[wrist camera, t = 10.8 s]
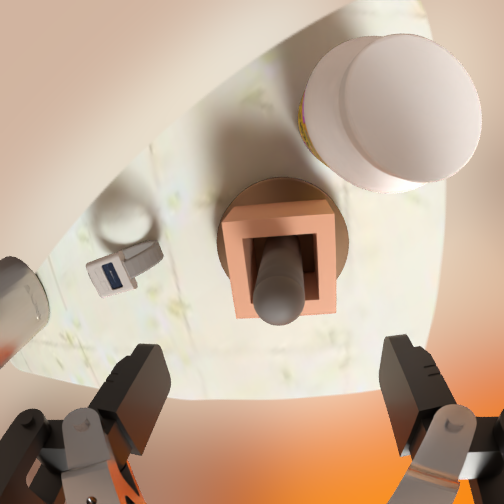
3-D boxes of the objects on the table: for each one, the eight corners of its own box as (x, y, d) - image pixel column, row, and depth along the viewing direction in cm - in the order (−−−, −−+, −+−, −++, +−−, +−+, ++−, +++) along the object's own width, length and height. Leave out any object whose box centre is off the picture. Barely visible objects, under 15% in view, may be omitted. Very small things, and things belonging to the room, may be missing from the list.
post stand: (230, 297, 25) (197, 386, 15) (213, 183, 22) (157, 218, 12) (345, 291, 23) (371, 381, 14) (342, 173, 20) (385, 201, 11)
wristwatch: (117, 275, 25) (87, 303, 21) (104, 247, 25) (70, 270, 20) (177, 257, 24) (152, 285, 19) (164, 224, 23) (135, 246, 19)
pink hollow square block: (245, 288, 23) (236, 318, 19) (233, 206, 21) (221, 222, 17) (329, 283, 22) (336, 313, 18) (325, 199, 20) (334, 213, 16)
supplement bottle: (291, 78, 19) (294, -1, 7) (385, 76, 18) (486, 21, 6) (302, 173, 21) (321, 221, 9) (394, 169, 20) (505, 212, 8)
